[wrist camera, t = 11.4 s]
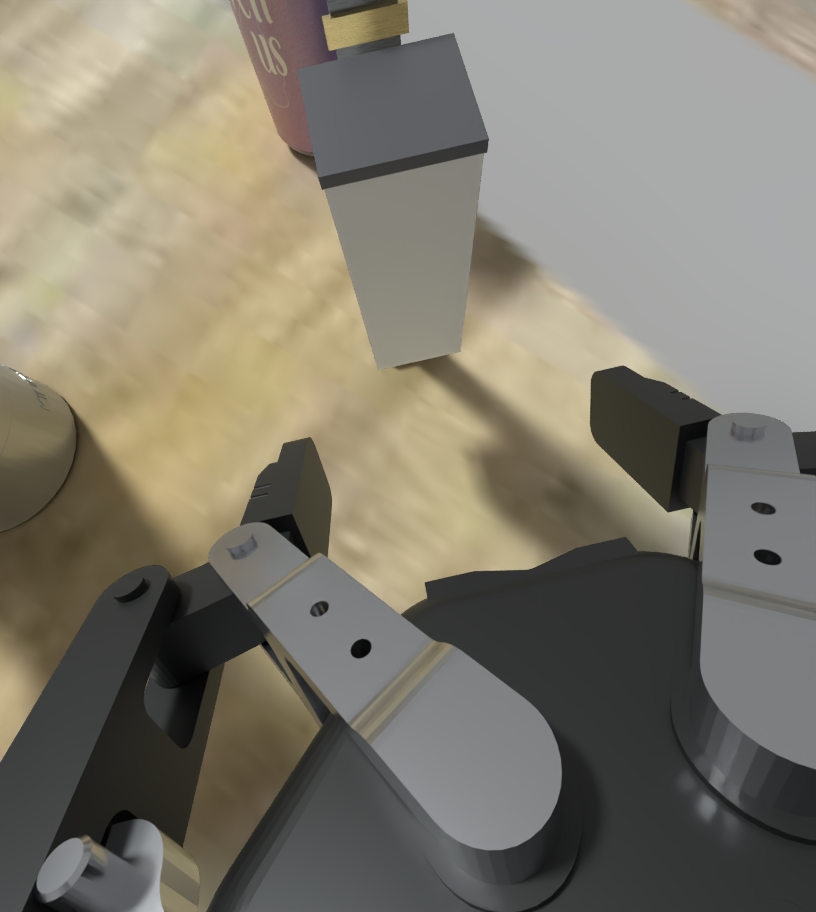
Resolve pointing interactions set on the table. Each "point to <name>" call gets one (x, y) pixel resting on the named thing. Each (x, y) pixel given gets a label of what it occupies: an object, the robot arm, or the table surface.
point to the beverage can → (284, 57)
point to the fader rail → (364, 25)
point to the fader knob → (401, 187)
